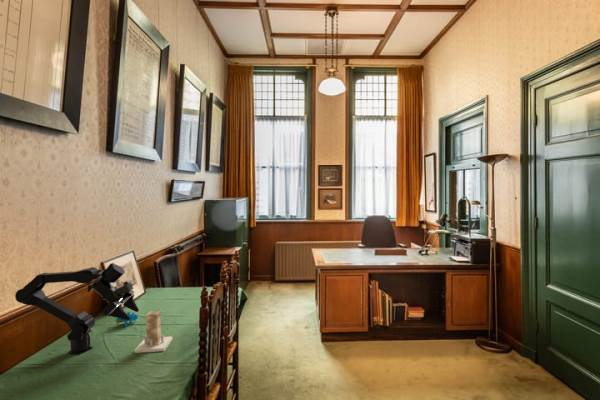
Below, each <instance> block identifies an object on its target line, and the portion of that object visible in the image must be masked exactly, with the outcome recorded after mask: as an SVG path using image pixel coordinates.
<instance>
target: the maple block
mask: <svg viewBox="0 0 600 400" xmlns="http://www.w3.org/2000/svg"><path fill="white" fill-rule="evenodd" d="M161 318H162V317H161V311H160V310H155V311H154V310H152V311H149V312H148V313H147V314H146V315H145V321H146V324H145V325H146V336H147V345H150V339H152V342H153V345H158V344H159V343H160V341H161V335H162V325H161V323H162V322H161V320H162V319H161Z"/></svg>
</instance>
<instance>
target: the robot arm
mask: <svg viewBox="0 0 600 400" xmlns="http://www.w3.org/2000/svg"><path fill="white" fill-rule="evenodd" d="M124 274H125V269H124V268H123V267H122V266H120V265H118V264H117V263H116V264H115V263H114V262H112V263H109V264H108V266H107V267H106V269H105V270H104V269H98V268H97V267H94V266H93V267H92V266H91V267H88V268H83V269H79V270H76V271H75V270H73V271H61V272H60V271H59V272H42V273H39V274H37V275H36V276H34V278H33V279H32V280H31V281H29V282H28V283H27V284H26V285H24V286H23V287H22V288H20V289H18V290H17V291H15V294H14V295H15V296H14V297H15V300H16V302H17V303H20V304H23V305H26V306H32V307H37V308H38V309H41V310H42V311H44V312H46V313H48V314H49V315H51V316H53V317H55V318H57V319H59V320H60V321H63V322H64V323H66V324H67V326H68V328H69V330H71V331H70V332H69V333H68V334H67V335H66V337H67V340H68V341H69V342H70V349H69V351H67V353H68V354H74V355H81V354H83V353H85V352H87V351H89V350H91V349H93V347H94V346H91V336H90V333H91V331H92V329H93V328H94V327H95V325H96V321H95V317H93V315H91V314H89V313H88V312H86V311H82V312H80V313H76V312H74V311H73V310H71V309H69V308H67V307H66V306H64V305H62V304H61V303H59V302H56V301H55V300H53V299H52V298H49V297H48V296H47V295H46V294H45V292H44V290H43V288H44V287H45V286H46V285H47V284H52V283H53V284H54V283H55V284H56V283H66V282H67V283H68V282H75V283H77V284H88V285H87V292H88V293H90V292H91V291H93V290H94V291H95V292H96V293H97V294H98V295H99V296H100V297H101V298H100V299H101V301H104V300H105V301H106V302H107V303H108V304H107V306H105V307H104V308H103V309H102V310H101V311H102V315H103V316H104V317H108V318H109V317H113V318H116V317H117V318H121V319H125V320H129V319H130V317H129V316H128V315H127V312H126V311H125V310H124V309H123V307H125V308H127V309H130V310H131V311H134V313H135V312H136V313H138V312H139V311H140V309H139V307H138V305H137V304H136V302H135V299H134V298H135V297H134V296H135V291H134V290H133V289H134V287H133V285H134V284H133V283H132V282H131V281H130V280H126V281H125V282H123V285H121V286H120V287H119V286H118V285H115V286H114V285H112V284H115V283H116V282H117V281H118V280H120V278H122V277H123V275H124ZM99 278H100V279H99ZM92 282H93V283H92ZM89 283H90V284H89ZM122 306H123V307H122Z"/></svg>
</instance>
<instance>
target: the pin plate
mask: <svg viewBox="0 0 600 400" xmlns="http://www.w3.org/2000/svg"><path fill="white" fill-rule="evenodd" d="M173 339H174V338H173V336H164V334H161V341H160V343H159V344H158V345H153V342H152V339H150V345H147V335H144V339H143V340H141V342H140V343H139V344H138V345H137V347H135V349H134V354H138V353H139V354H140V353H153V352H154V353H155V352H165V351H166V349H167V348H168V346H169V345H170V343H171V342H172V341H173Z"/></svg>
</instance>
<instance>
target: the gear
mask: <svg viewBox="0 0 600 400" xmlns="http://www.w3.org/2000/svg"><path fill="white" fill-rule="evenodd" d="M126 314H127V315H128V316H129V317H130V319H129V320H125V319H121V318H117V317H114V322H115V323H116V324H115V327H116V328H118V327H119V324H120V323H124V328H127V327H128V322H129V323H132V322H136V321H137V320H138V318H139V314H136V313H135V312H130V311H127V312H126Z"/></svg>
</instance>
